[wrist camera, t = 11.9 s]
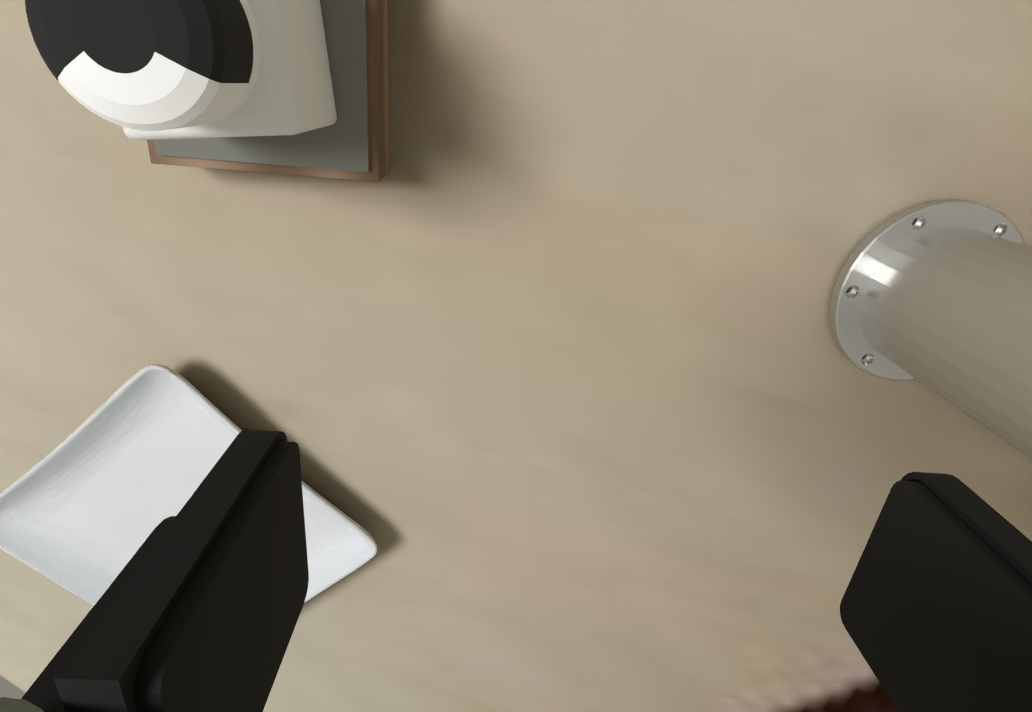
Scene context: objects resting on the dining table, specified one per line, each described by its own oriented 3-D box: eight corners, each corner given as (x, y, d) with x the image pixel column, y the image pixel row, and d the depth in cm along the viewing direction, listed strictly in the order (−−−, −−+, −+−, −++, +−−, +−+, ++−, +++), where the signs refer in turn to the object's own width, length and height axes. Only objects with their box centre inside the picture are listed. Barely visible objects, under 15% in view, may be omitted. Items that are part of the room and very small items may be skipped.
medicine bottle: (161, -35, 27) (-57, -114, 16) (315, -39, 27) (201, -119, 16) (201, 128, 30) (39, 154, 19) (339, 124, 30) (256, 147, 20)
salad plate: (391, 523, 47) (384, 554, 44) (216, 642, 52) (199, 677, 49) (177, 336, 40) (150, 358, 37) (-4, 496, 45) (-41, 527, 42)
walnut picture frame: (388, -67, 30) (374, -87, 27) (389, 172, 35) (377, 182, 32) (147, -94, 29) (99, -119, 26) (184, 155, 34) (148, 164, 31)
